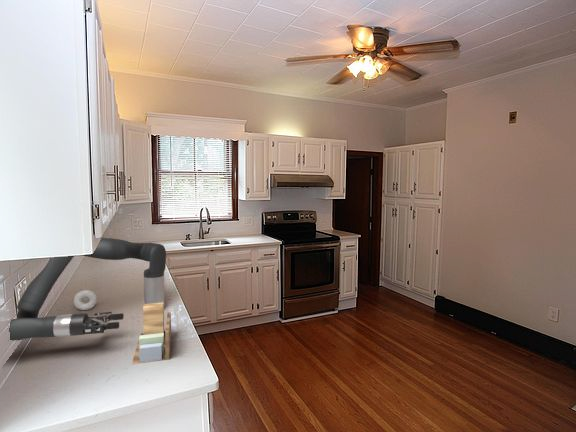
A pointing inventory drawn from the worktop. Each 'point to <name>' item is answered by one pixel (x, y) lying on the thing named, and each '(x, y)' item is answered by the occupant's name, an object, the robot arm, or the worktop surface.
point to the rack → (166, 343)
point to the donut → (85, 293)
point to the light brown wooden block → (153, 318)
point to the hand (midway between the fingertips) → (121, 320)
